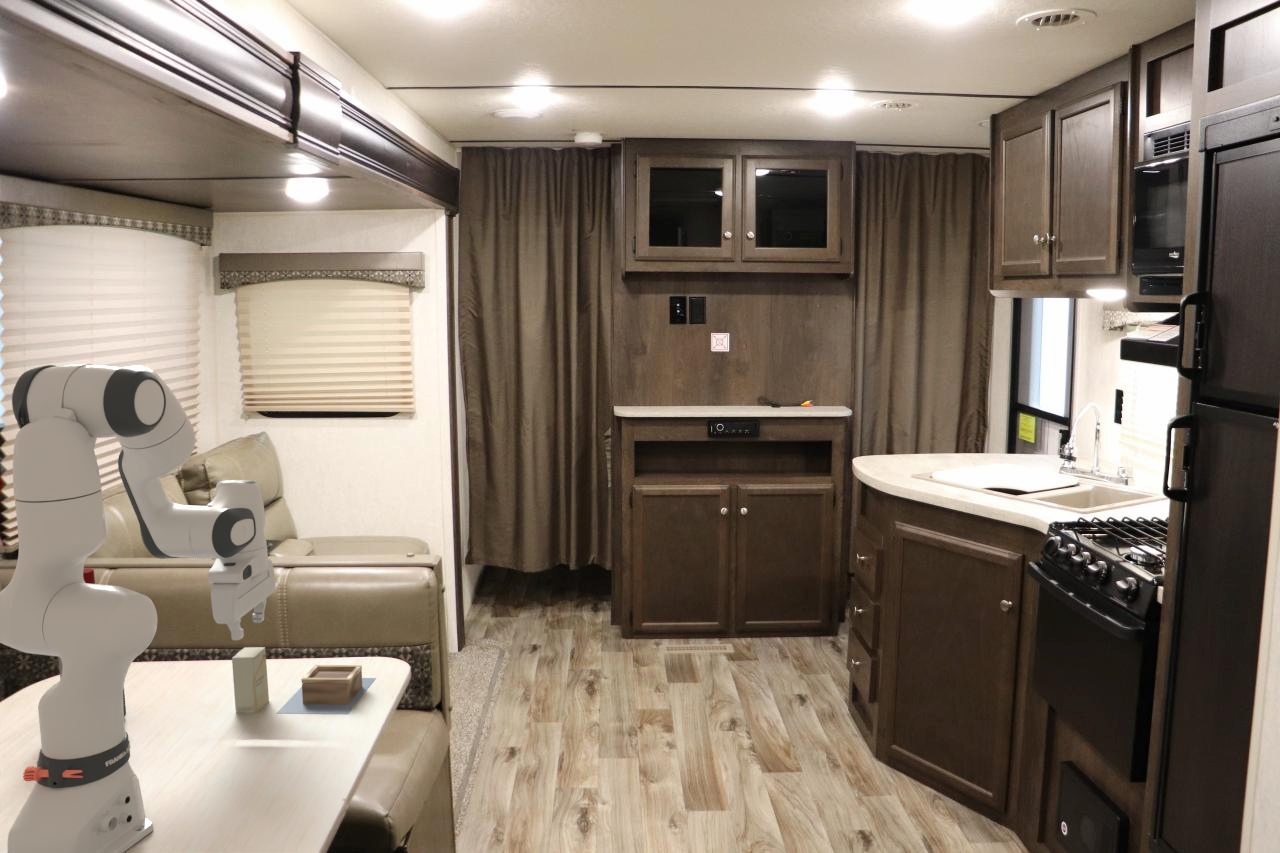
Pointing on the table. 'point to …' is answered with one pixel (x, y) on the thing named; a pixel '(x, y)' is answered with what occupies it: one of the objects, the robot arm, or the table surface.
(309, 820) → the table surface
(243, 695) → the skincare box
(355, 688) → the walnut tray
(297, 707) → the blue board
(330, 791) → the table surface
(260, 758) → the table surface
